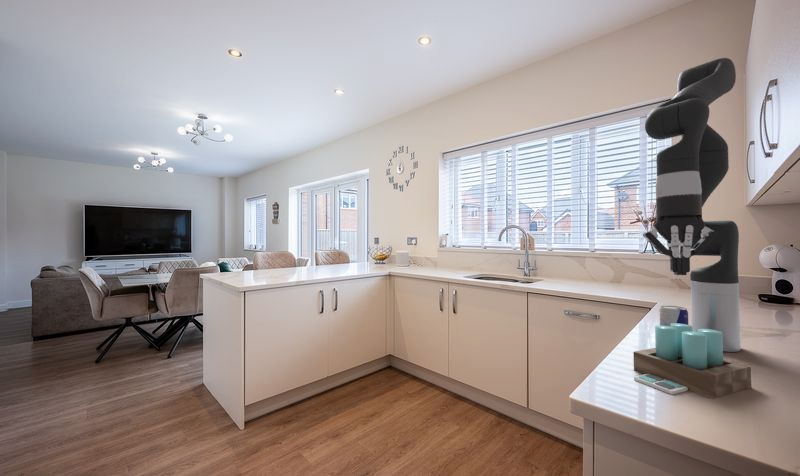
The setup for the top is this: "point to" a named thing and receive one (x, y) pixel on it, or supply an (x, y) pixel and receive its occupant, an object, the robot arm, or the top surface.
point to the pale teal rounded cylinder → (666, 343)
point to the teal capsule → (681, 329)
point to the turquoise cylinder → (713, 346)
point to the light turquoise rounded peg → (694, 350)
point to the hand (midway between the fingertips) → (680, 274)
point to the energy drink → (673, 315)
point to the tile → (661, 383)
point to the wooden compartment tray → (695, 374)
